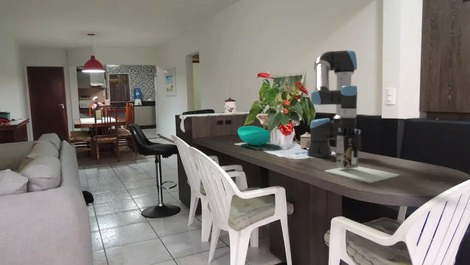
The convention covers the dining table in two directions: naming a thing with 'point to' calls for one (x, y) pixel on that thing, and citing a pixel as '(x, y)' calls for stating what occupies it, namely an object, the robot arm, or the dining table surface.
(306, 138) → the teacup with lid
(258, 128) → the table top decor
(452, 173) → the dining table surface
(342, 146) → the coffee box
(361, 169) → the mat
